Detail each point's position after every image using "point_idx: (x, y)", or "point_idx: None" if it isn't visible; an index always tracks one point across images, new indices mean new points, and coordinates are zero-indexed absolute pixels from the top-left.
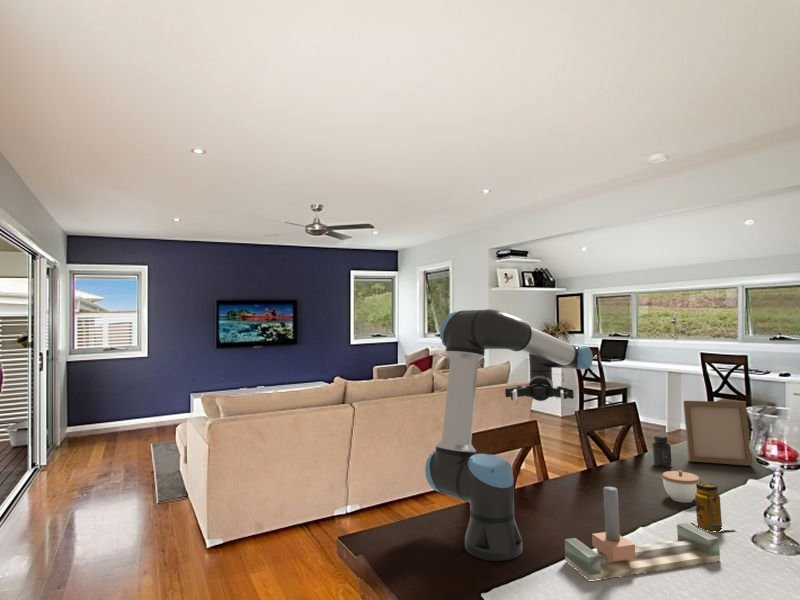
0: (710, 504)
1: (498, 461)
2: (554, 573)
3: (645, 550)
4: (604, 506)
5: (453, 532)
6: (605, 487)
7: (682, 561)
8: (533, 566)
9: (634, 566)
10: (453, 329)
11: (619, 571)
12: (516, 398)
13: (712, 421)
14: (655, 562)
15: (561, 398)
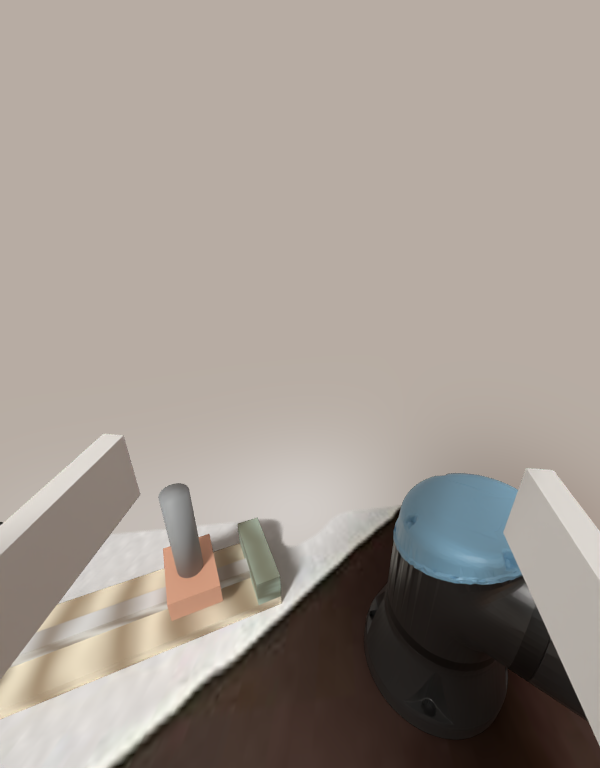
0: None
1: (446, 510)
2: (307, 562)
3: (124, 602)
4: (194, 520)
5: (582, 762)
6: (179, 499)
7: (70, 601)
8: (340, 580)
9: None
10: None
11: None
12: (567, 660)
13: None
14: (126, 587)
15: (130, 471)
